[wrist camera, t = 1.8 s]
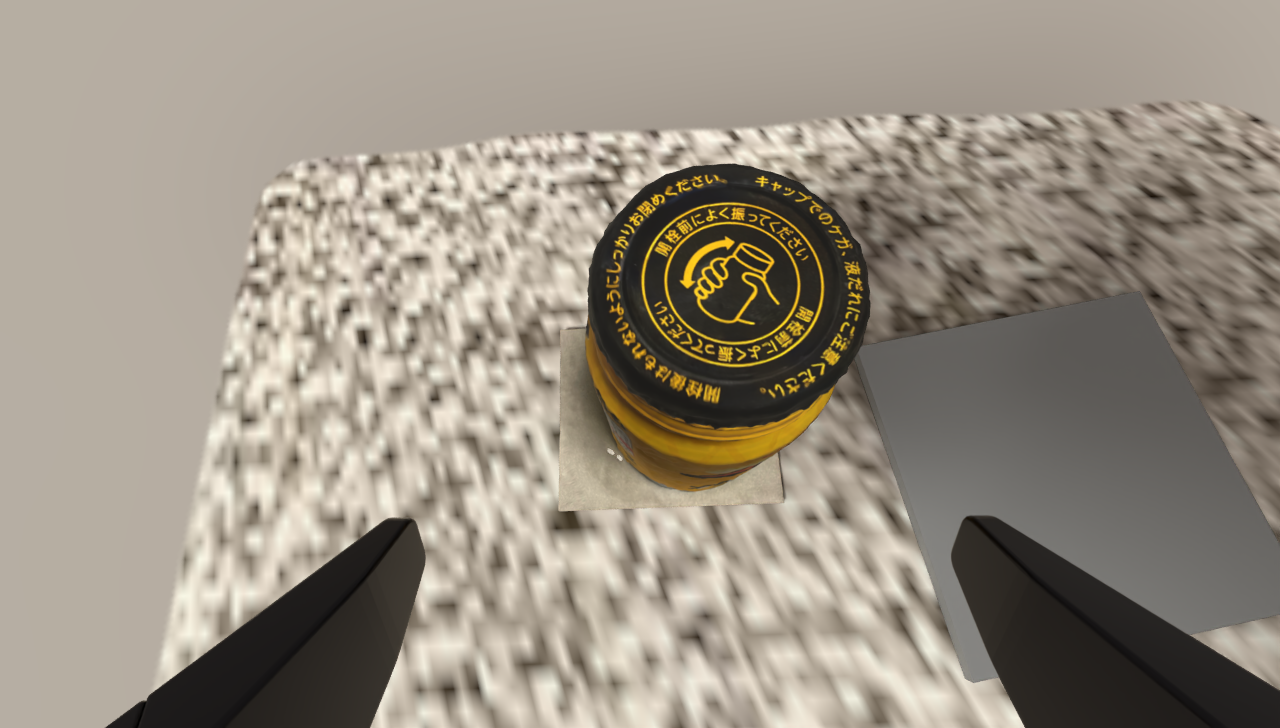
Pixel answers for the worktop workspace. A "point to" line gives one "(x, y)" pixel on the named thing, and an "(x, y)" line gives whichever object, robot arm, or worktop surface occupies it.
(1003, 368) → the mat
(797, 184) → the condiment
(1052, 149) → the worktop surface
